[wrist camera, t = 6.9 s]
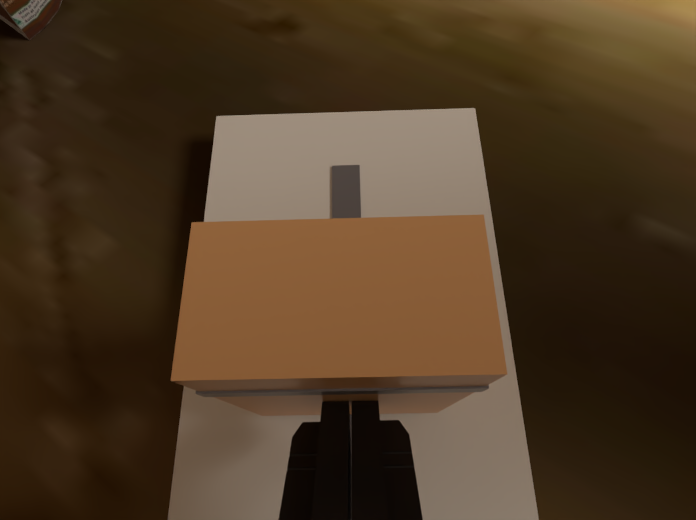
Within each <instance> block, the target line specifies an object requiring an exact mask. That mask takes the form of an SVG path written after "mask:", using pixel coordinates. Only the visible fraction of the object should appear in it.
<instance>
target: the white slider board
mask: <svg viewBox="0 0 696 520" xmlns="http://www.w3.org/2000/svg"><path fill="white" fill-rule="evenodd" d="M447 215H484V219H485V226H486V233H487V240H488V246H489V253H490V260H491V267H492V273H493V280H494V287H495V294H496V301H497V307H498V314H499V321H500V328H501V334H502V341H503V348H504V355H505V362H506V368H507V375H505V376H503V377H502V378H500V379H498V380H496V381H494V382H492V383H491V384H489V389H487V390H485V391H483V392H474V393H472V394H471V395H469V396H467V397H465V398H463V399H461V400H460V401H458V402H456V403H454V404H452V405H451V406H449V407H447V408H445V409H443V410H441V411H440V412H438V413H396V414H380V420H399V421H400V422H401V423H402V425H403V426H404V428H405V429H406V430H407V432H408V433H409V436H410V442H411V449H412V455H413V461H414V469H415V474H416V480H417V486H418V493H419V499H420V505H421V512H422V518H423V520H539V518H538V512H537V505H536V499H535V492H534V486H533V479H532V473H531V467H530V460H529V454H528V447H527V441H526V434H525V428H524V421H523V415H522V408H521V402H520V396H519V389H518V383H517V376H516V370H515V363H514V357H513V350H512V344H511V337H510V331H509V324H508V318H507V312H506V305H505V299H504V292H503V286H502V279H501V273H500V266H499V260H498V253H497V247H496V241H495V234H494V228H493V221H492V215H491V208H490V202H489V195H488V189H487V182H486V176H485V170H484V163H483V157H482V150H481V144H480V137H479V131H478V124H477V118H476V111H475V108H463V109H430V110H398V111H366V112H334V113H302V114H269V115H237V116H217V117H216V125H215V133H214V141H213V150H212V158H211V166H210V174H209V183H208V191H207V199H206V207H205V216H204V222H220V221H257V220H295V219H333V218H371V217H409V216H447ZM195 393H196V390H193V389H191V388H188V387H185V386H184V388H183V397H182V405H181V413H180V421H179V430H178V438H177V446H176V454H175V463H174V471H173V479H172V487H171V496H170V504H169V512H168V520H279V514H280V508H281V502H282V496H283V490H284V484H285V478H286V472H287V466H288V460H289V456H290V447H291V441H292V436H293V435H294V434H295V432H296V431H297V429H298V428H299V427H300V425H301V424H302V422H320V419H321V415H283V416H261V415H259V414H256V413H253V412H251V411H248V410H246V409H243V408H240V407H238V406H235V405H232V404H230V403H227V402H225V401H222V400H219V399H217V398H214V397H203V396H200V395H197V394H195ZM350 432H351V467H352V414H350Z"/></svg>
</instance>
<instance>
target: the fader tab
mask: <svg viewBox="0 0 696 520" xmlns="http://www.w3.org/2000/svg"><path fill="white" fill-rule="evenodd" d="M505 375H507V368H506V362H505V355H504V348H503V341H502V334H501V328H500V321H499V314H498V307H497V301H496V294H495V287H494V280H493V273H492V267H491V260H490V253H489V246H488V240H487V233H486V226H485V219H484V215H447V216H409V217H371V218H333V219H295V220H257V221H220V222H192V223H191V231H190V238H189V246H188V253H187V261H186V268H185V276H184V283H183V291H182V299H181V306H180V314H179V321H178V329H177V336H176V344H175V351H174V359H173V366H172V374H171V381H172V382H175V383H178V384H180V385H183V386H185V387H188V388H191V389H193V390H196V393H195V394H197V395H200V396H203V397H214V398H217V399H219V400H222V401H225V402H227V403H230V404H232V405H235V406H238V407H240V408H243V409H246V410H248V411H251V412H253V413H256V414H259V415H261V416H283V415H321V408H322V402H331V401H349V408H350V414H352V401H376V400H378V402H379V414H396V413H438V412H440V411H441V410H443V409H445V408H447V407H449V406H451V405H452V404H454V403H456V402H458V401H460V400H461V399H463V398H465V397H467V396H469V395H471V394H472V393H474V392H483V391H485V390H487V389H489V384H491V383H492V382H494V381H496V380H498V379H500V378H502V377H503V376H505Z"/></svg>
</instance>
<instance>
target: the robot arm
mask: <svg viewBox="0 0 696 520" xmlns="http://www.w3.org/2000/svg"><path fill="white" fill-rule="evenodd" d="M279 520H423V518H422V512H421V505H420V499H419V493H418V486H417V480H416V474H415V469H414V461H413V455H412V449H411V442H410V436H409V433H408V432H407V430H406V429H405V428H404V426H403V425H402V423H401V422H400V421H399V420H380V414H379V402H378V400H376V401H352V467H351V432H350V408H349V401H331V402H322V408H321V419H320V422H302V424H301V425H300V427H299V428H298V429H297V431H296V432H295V434H294V435H293V436H292V441H291V447H290V456H289V460H288V466H287V472H286V478H285V484H284V490H283V496H282V502H281V508H280V514H279Z"/></svg>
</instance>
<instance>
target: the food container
mask: <svg viewBox="0 0 696 520" xmlns="http://www.w3.org/2000/svg"><path fill="white" fill-rule="evenodd" d="M61 2H62V0H0V19H1V20H2V21H4V22H5V23H7V24H8V25H9V26H11V27H12V28H13V29H15V30H16V31H17V32H19V33H20V34H22V35H23V36H24V37H26V38H27V39H28V40H31V39H32V38H33V37H34V36H36V35H37V34H38V33H39V32H40V31H42V30H43V29H44V28H45V27H46V26H47V24H48V23H49V22H50V21H51V19H52V18H53V17H54V15H55V14H56V13H57V12H58V10H59V8H60V5H61Z"/></svg>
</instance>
